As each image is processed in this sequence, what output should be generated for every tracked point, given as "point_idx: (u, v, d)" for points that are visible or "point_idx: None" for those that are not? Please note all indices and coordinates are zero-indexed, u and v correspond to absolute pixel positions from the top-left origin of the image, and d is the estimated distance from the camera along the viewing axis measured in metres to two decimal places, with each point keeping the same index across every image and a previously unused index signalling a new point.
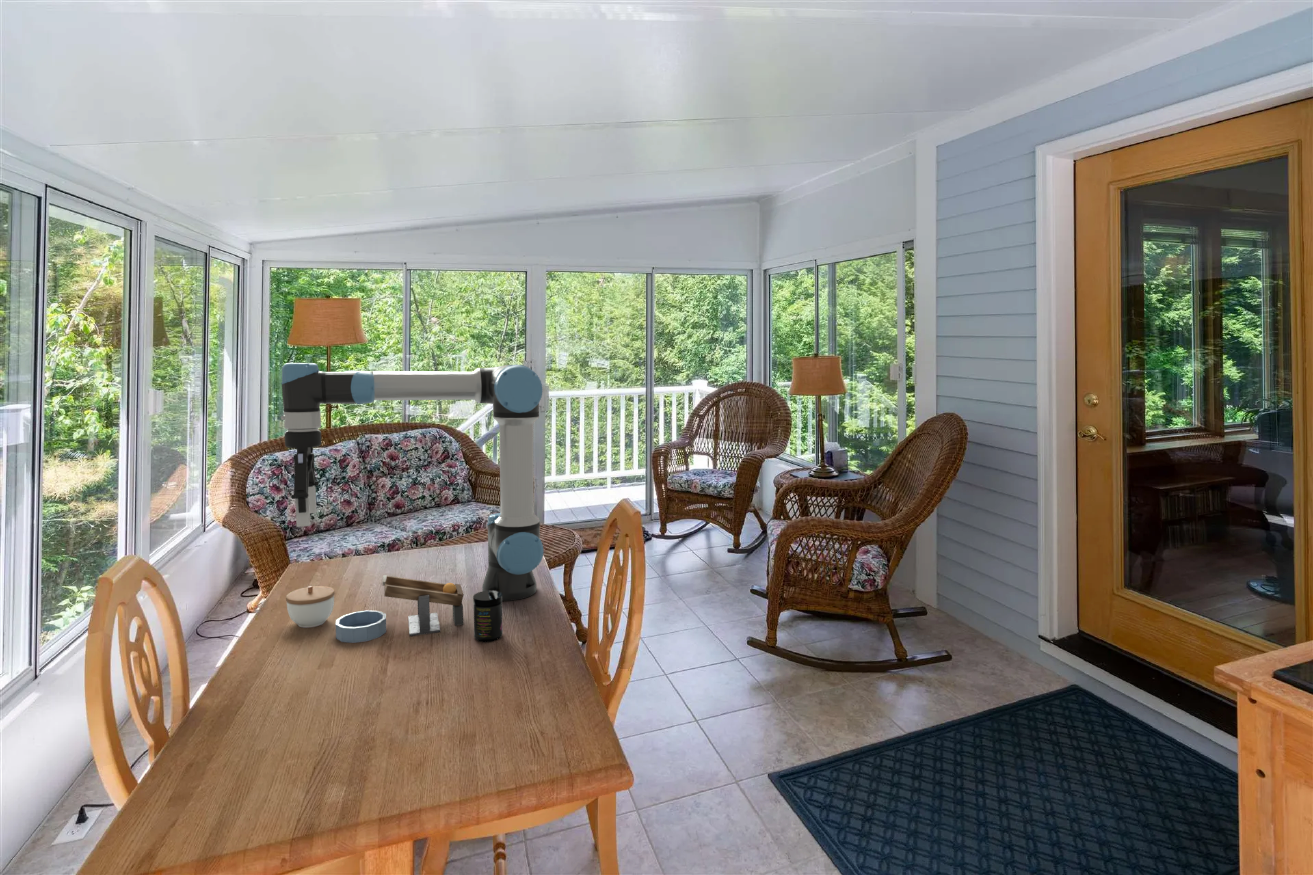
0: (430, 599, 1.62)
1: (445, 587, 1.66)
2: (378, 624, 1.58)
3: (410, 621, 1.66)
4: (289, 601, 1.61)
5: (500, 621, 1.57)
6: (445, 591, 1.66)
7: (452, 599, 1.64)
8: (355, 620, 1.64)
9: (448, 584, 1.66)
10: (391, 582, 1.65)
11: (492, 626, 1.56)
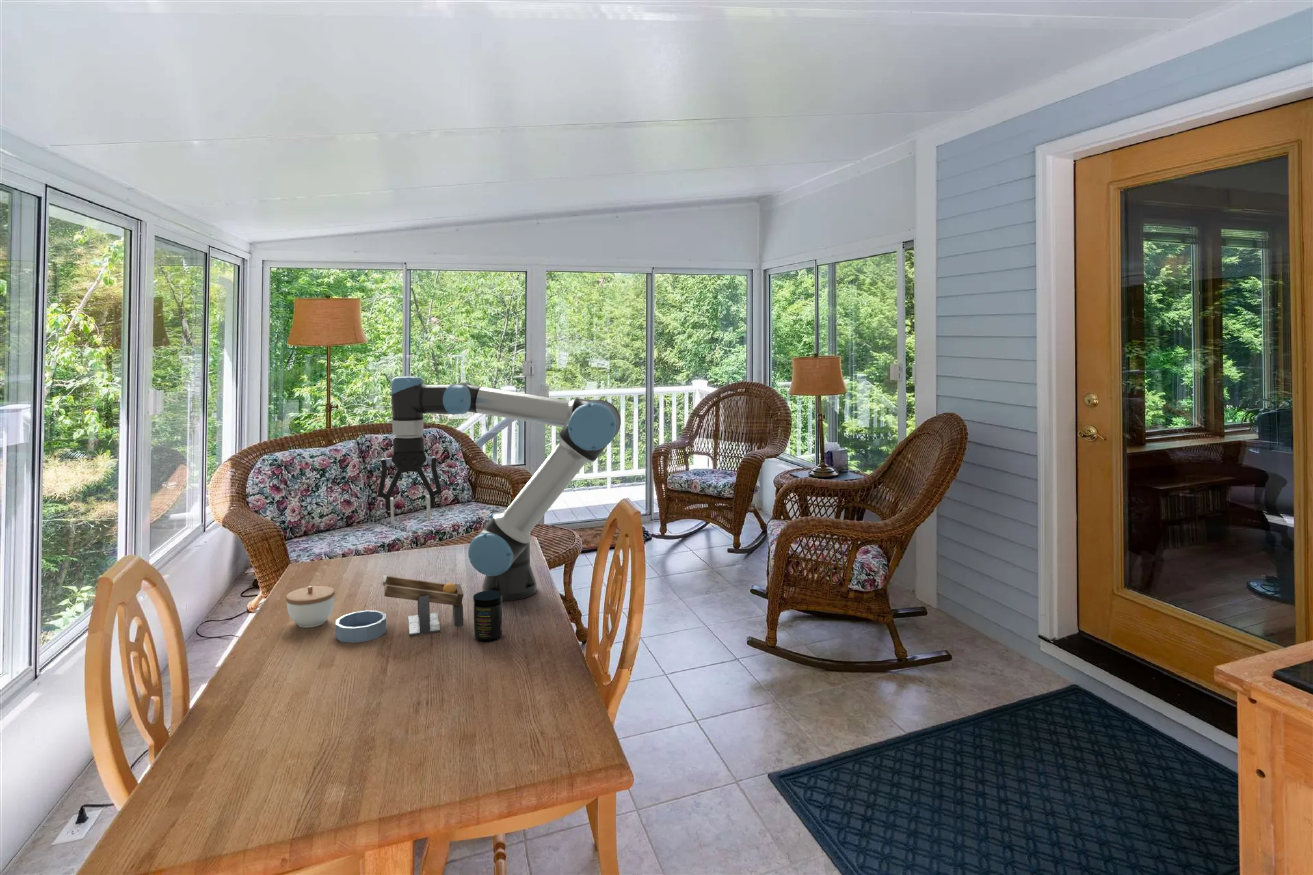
0: (430, 599, 1.62)
1: (445, 587, 1.66)
2: (378, 624, 1.58)
3: (410, 621, 1.66)
4: (289, 601, 1.61)
5: (500, 621, 1.57)
6: (445, 591, 1.66)
7: (452, 599, 1.64)
8: (355, 620, 1.64)
9: (448, 584, 1.66)
10: (391, 582, 1.65)
11: (492, 626, 1.56)
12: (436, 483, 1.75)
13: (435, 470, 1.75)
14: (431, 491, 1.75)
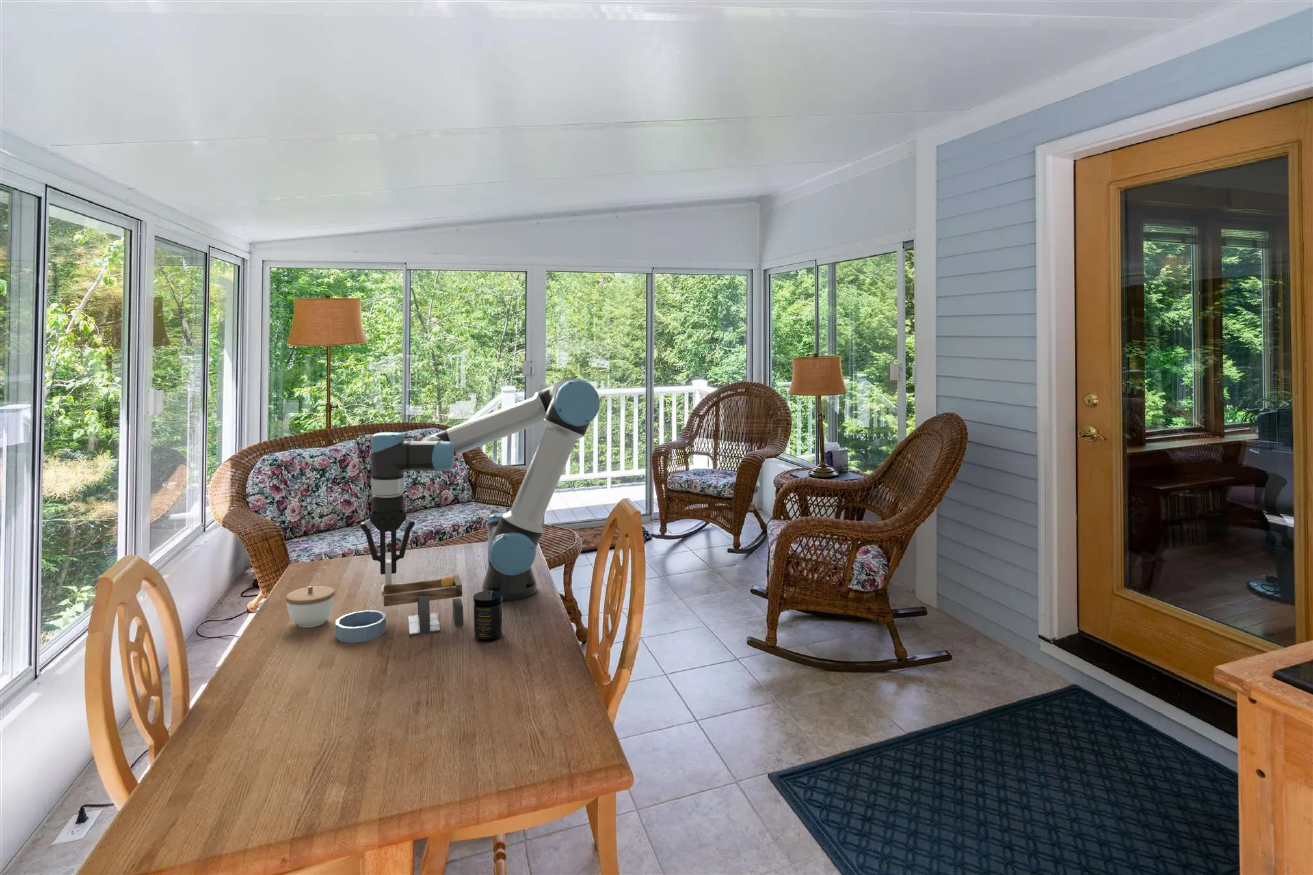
0: (430, 597, 1.62)
1: (442, 582, 1.66)
2: (378, 624, 1.58)
3: (410, 621, 1.66)
4: (289, 601, 1.61)
5: (500, 621, 1.57)
6: (444, 586, 1.65)
7: (452, 592, 1.63)
8: (355, 620, 1.64)
9: (445, 578, 1.66)
10: (389, 590, 1.65)
11: (492, 626, 1.56)
12: (402, 547, 1.68)
13: (408, 534, 1.68)
14: (394, 556, 1.67)
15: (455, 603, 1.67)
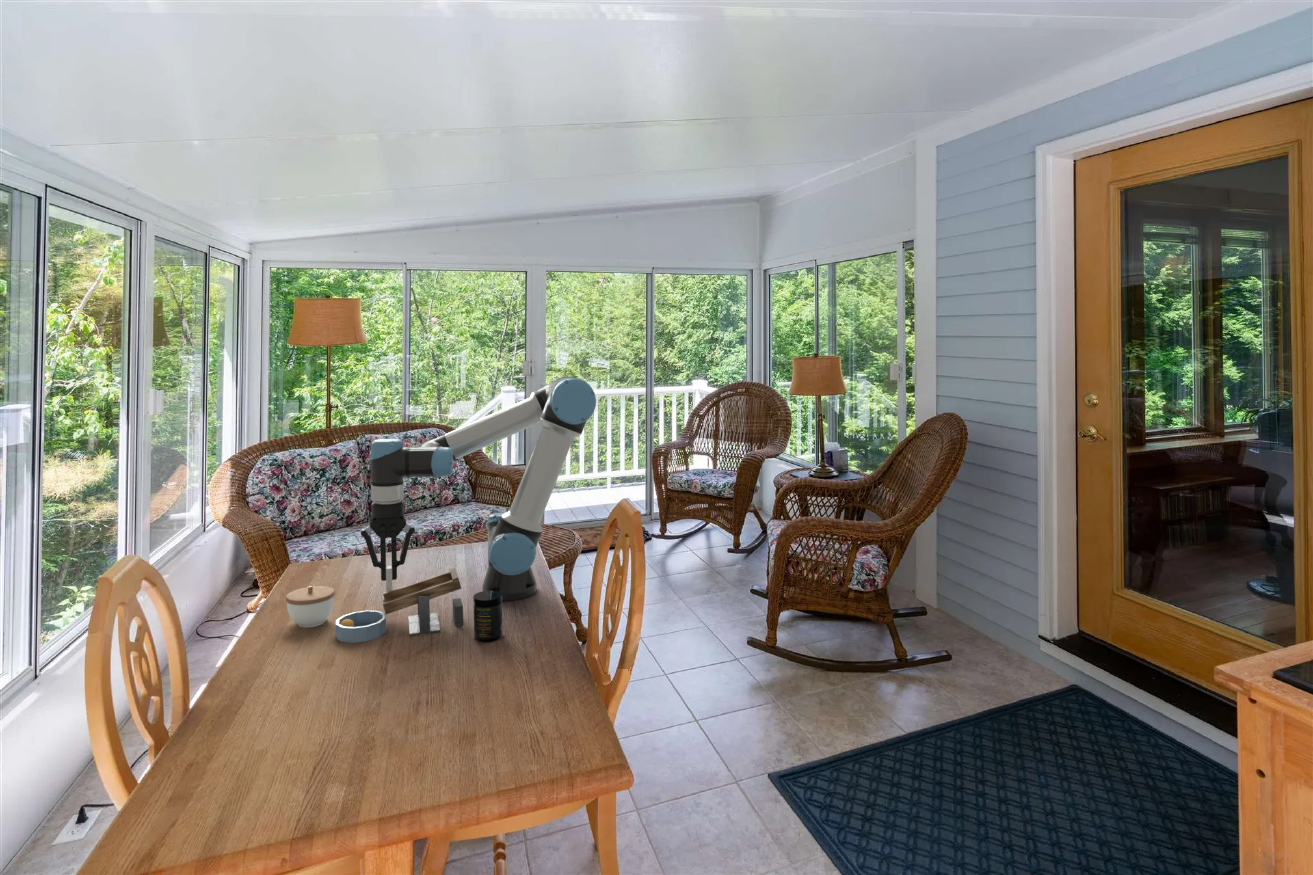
0: (430, 596, 1.62)
1: None
2: (378, 624, 1.58)
3: (410, 621, 1.66)
4: (289, 601, 1.61)
5: (500, 621, 1.57)
6: (351, 625, 1.58)
7: (450, 586, 1.63)
8: (355, 620, 1.64)
9: None
10: (390, 597, 1.65)
11: (492, 626, 1.56)
12: (403, 553, 1.68)
13: (408, 540, 1.68)
14: (395, 562, 1.67)
15: (455, 603, 1.67)
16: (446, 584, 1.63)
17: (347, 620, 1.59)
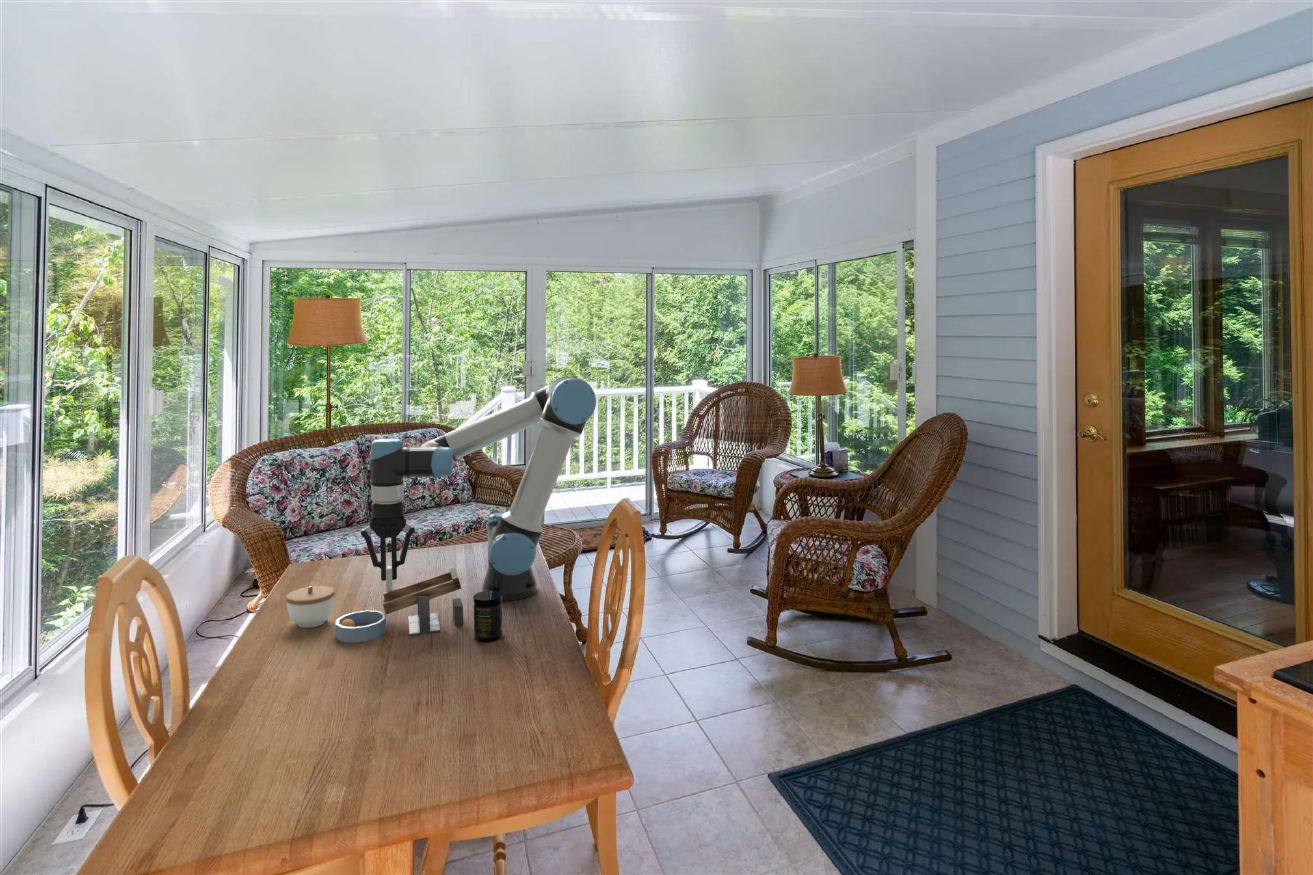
0: (430, 596, 1.62)
1: None
2: (378, 624, 1.58)
3: (410, 621, 1.66)
4: (289, 601, 1.61)
5: (500, 621, 1.57)
6: (351, 625, 1.58)
7: (450, 586, 1.63)
8: (355, 620, 1.64)
9: None
10: (390, 597, 1.65)
11: (492, 626, 1.56)
12: (403, 553, 1.68)
13: (408, 540, 1.68)
14: (395, 562, 1.67)
15: (455, 603, 1.67)
16: (446, 584, 1.63)
17: (348, 620, 1.59)
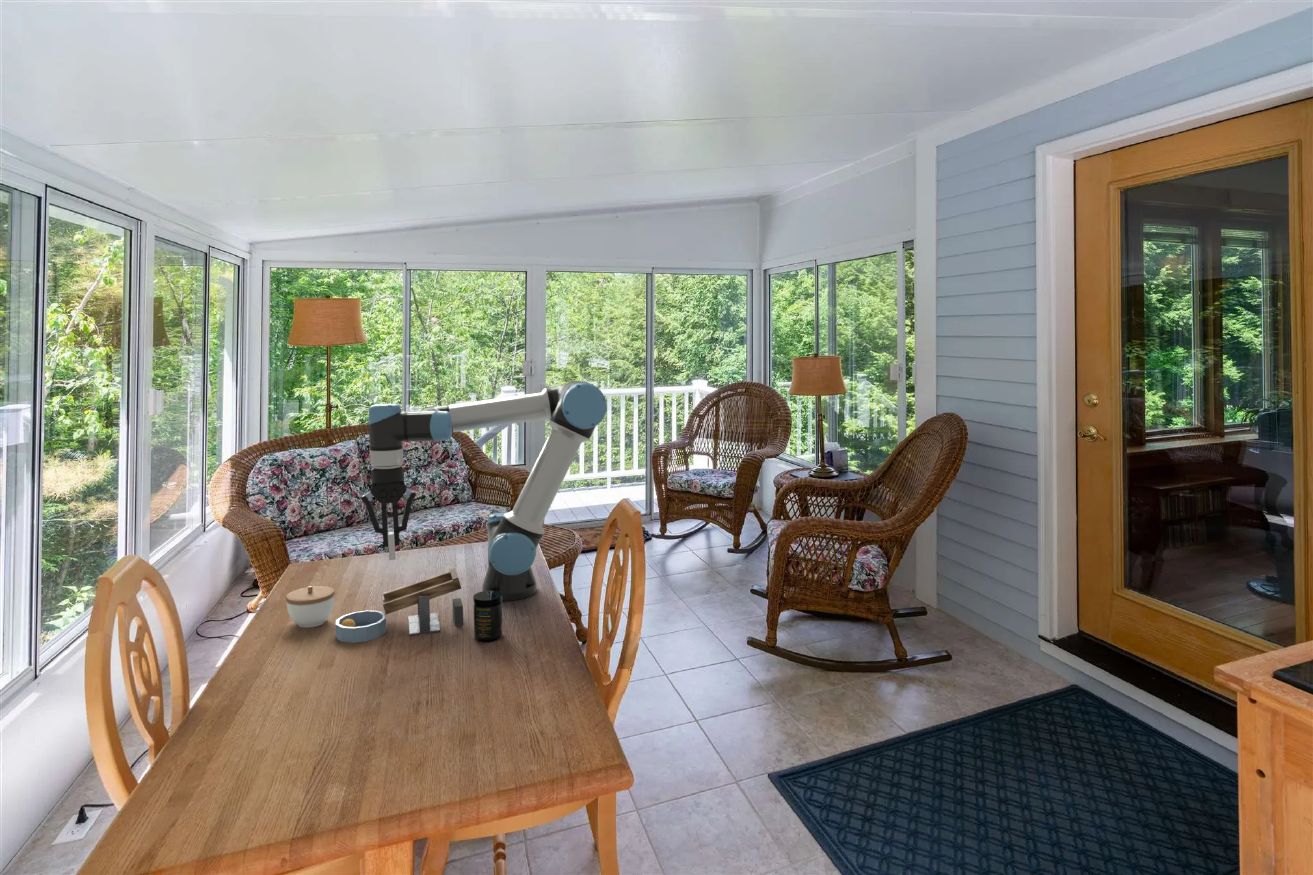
0: (430, 596, 1.62)
1: None
2: (378, 624, 1.58)
3: (410, 621, 1.66)
4: (289, 601, 1.61)
5: (500, 621, 1.57)
6: (352, 625, 1.58)
7: (450, 586, 1.63)
8: (355, 620, 1.64)
9: None
10: (390, 597, 1.65)
11: (492, 626, 1.56)
12: (404, 519, 1.67)
13: (409, 505, 1.67)
14: (397, 528, 1.66)
15: (455, 603, 1.67)
16: (446, 584, 1.63)
17: (350, 620, 1.59)
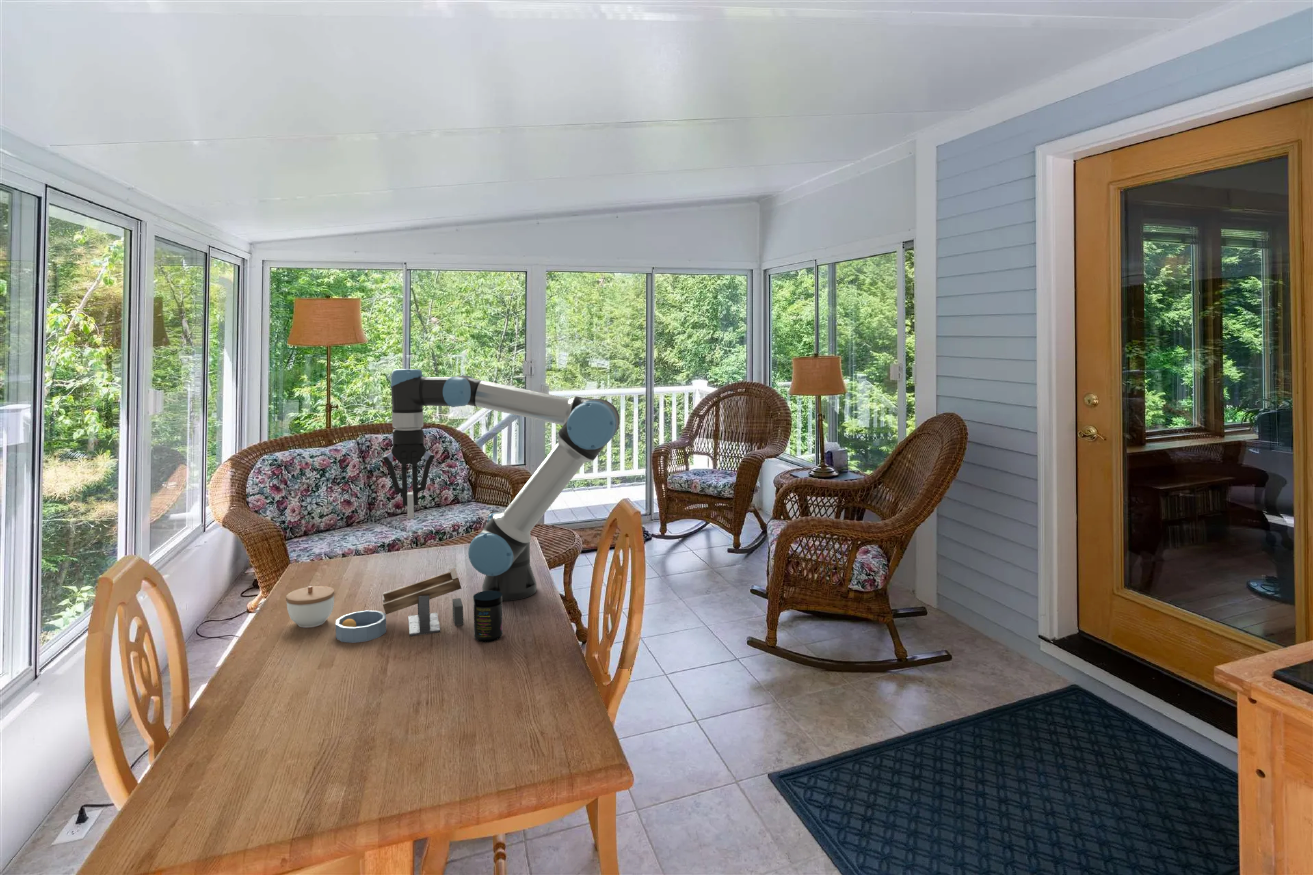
0: (430, 596, 1.62)
1: None
2: (378, 624, 1.58)
3: (410, 621, 1.66)
4: (289, 601, 1.61)
5: (500, 621, 1.57)
6: (353, 626, 1.59)
7: (450, 586, 1.63)
8: (355, 620, 1.64)
9: None
10: (390, 597, 1.65)
11: (492, 626, 1.56)
12: (423, 479, 1.74)
13: (428, 467, 1.74)
14: (416, 488, 1.74)
15: (455, 603, 1.67)
16: (446, 584, 1.63)
17: (351, 620, 1.59)
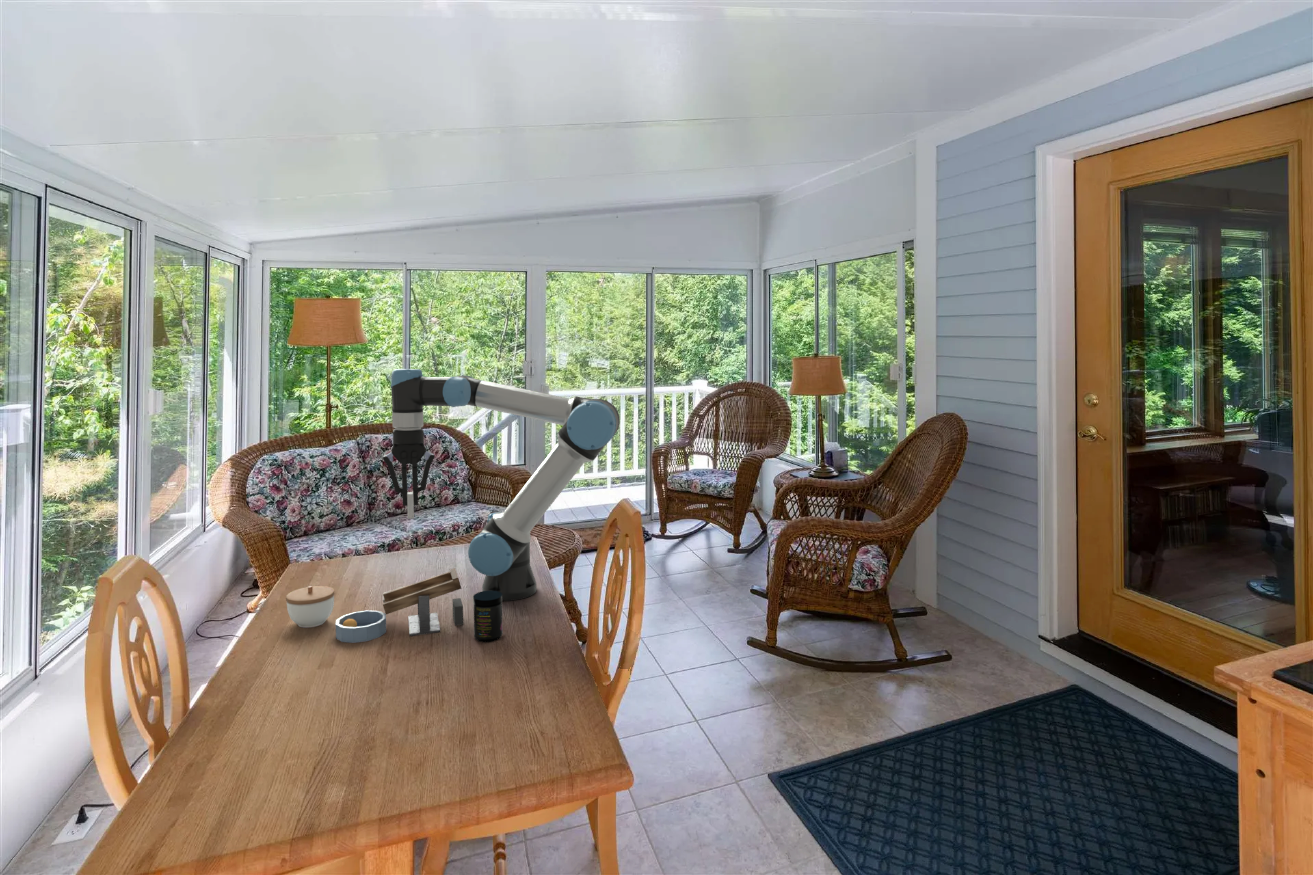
0: (430, 596, 1.62)
1: None
2: (378, 624, 1.58)
3: (410, 621, 1.66)
4: (289, 601, 1.61)
5: (500, 621, 1.57)
6: (354, 626, 1.59)
7: (450, 586, 1.63)
8: (355, 620, 1.64)
9: None
10: (390, 597, 1.65)
11: (492, 626, 1.56)
12: (423, 479, 1.74)
13: (428, 467, 1.74)
14: (416, 488, 1.74)
15: (455, 603, 1.67)
16: (446, 584, 1.63)
17: (352, 620, 1.59)
